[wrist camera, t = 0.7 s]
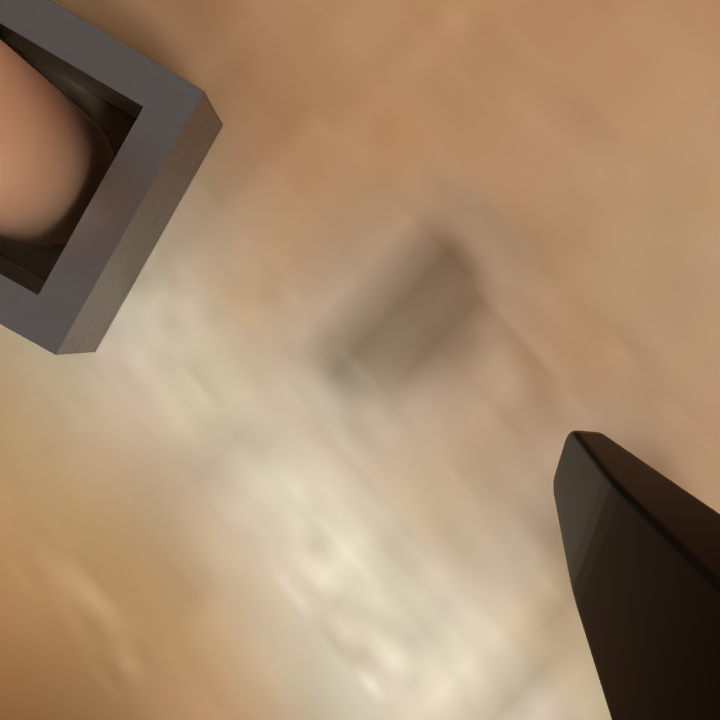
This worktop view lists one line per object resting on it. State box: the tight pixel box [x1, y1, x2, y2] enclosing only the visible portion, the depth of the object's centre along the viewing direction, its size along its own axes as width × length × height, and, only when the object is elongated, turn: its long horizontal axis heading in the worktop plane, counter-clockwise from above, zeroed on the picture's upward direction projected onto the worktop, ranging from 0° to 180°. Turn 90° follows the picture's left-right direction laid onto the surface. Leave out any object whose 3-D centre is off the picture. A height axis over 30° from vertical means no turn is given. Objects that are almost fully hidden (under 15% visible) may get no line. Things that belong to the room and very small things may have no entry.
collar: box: [0, 0, 223, 355], centre depth 20 cm, size 9×9×3 cm
